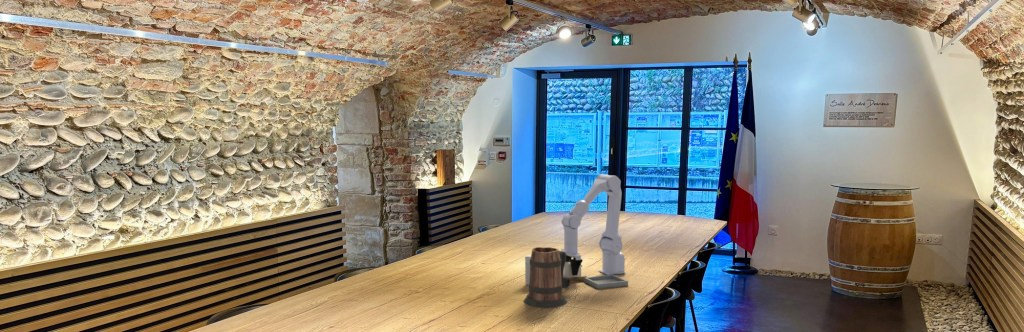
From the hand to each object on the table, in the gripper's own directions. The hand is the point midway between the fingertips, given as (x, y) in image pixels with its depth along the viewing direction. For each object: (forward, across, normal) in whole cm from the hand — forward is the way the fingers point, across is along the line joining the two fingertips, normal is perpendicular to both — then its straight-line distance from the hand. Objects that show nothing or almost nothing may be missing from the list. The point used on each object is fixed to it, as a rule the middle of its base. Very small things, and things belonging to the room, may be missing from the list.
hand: (570, 273), depth 277 cm
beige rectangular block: (+2, 0, 0) cm, 2 cm away
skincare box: (+3, +2, -18) cm, 19 cm away
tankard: (+3, +25, -22) cm, 33 cm away
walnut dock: (+2, 0, 0) cm, 2 cm away
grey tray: (+2, +14, +10) cm, 17 cm away
